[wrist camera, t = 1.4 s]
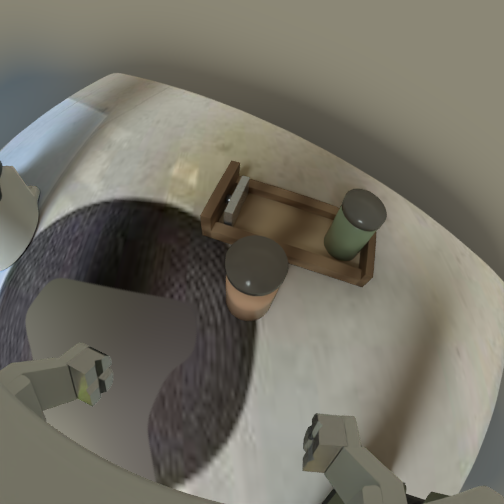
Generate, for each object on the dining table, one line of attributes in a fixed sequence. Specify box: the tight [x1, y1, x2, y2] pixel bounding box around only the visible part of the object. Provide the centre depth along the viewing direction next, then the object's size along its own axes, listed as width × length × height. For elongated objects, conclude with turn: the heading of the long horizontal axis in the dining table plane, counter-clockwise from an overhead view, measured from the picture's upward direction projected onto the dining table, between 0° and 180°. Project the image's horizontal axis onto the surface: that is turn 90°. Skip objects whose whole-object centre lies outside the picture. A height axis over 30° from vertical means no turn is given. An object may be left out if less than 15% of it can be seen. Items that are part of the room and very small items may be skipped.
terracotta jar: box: [225, 235, 288, 321], centre depth 26 cm, size 5×5×9 cm
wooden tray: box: [200, 161, 376, 287], centre depth 34 cm, size 21×10×4 cm, turn 72°
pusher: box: [224, 175, 250, 227], centre depth 34 cm, size 2×6×3 cm, turn 162°
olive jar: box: [324, 189, 387, 261], centre depth 31 cm, size 5×5×8 cm
